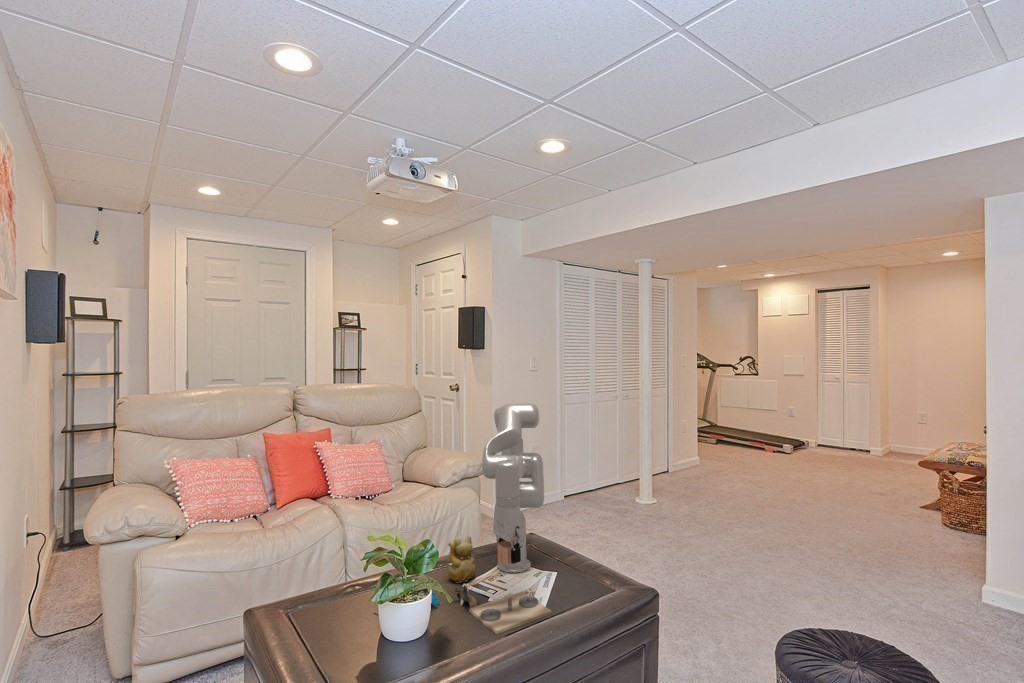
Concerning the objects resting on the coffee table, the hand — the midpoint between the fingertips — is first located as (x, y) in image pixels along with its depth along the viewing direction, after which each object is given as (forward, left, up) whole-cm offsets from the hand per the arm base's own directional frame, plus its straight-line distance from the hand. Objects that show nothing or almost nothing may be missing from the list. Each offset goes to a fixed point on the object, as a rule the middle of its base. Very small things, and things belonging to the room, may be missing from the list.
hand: (508, 557), depth 163 cm
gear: (-21, -19, -17) cm, 33 cm away
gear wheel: (0, 0, -1) cm, 1 cm away
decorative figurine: (-29, -1, -17) cm, 34 cm away
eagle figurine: (-13, -9, -17) cm, 23 cm away
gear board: (0, 0, -17) cm, 17 cm away
